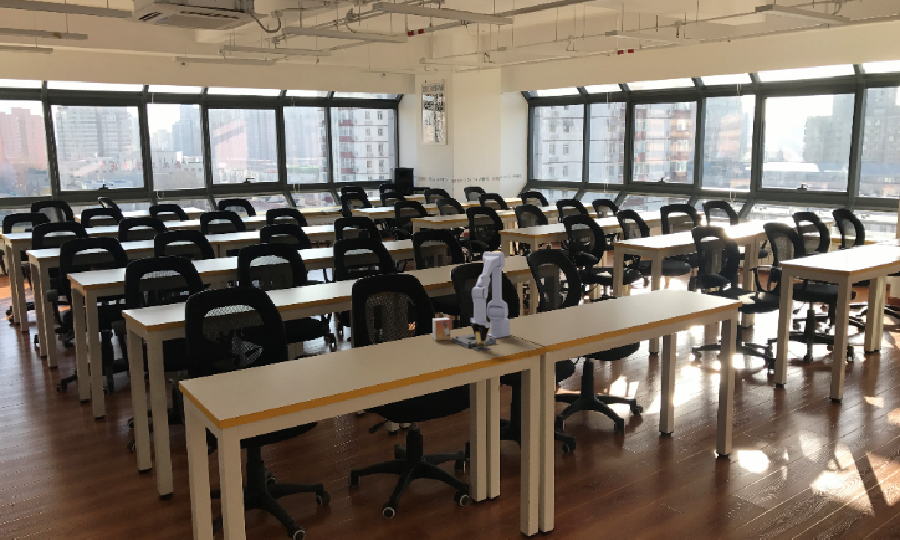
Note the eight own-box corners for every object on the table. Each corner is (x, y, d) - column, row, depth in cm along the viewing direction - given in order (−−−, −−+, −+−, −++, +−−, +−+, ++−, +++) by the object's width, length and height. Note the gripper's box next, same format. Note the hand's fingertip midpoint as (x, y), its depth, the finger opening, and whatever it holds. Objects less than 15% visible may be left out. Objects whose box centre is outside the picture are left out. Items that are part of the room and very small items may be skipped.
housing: (479, 336, 361) (478, 332, 361) (496, 343, 348) (496, 338, 347) (451, 341, 354) (451, 336, 353) (468, 348, 340) (468, 343, 339)
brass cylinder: (481, 343, 341) (481, 329, 340) (487, 345, 338) (487, 331, 336) (473, 345, 339) (473, 331, 338) (479, 347, 335) (479, 332, 334)
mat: (482, 346, 343) (482, 345, 343) (490, 349, 337) (490, 348, 337) (470, 348, 340) (470, 347, 340) (478, 351, 334) (478, 350, 334)
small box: (435, 341, 355) (434, 320, 353) (432, 338, 360) (432, 318, 358) (450, 339, 357) (450, 319, 355) (447, 337, 362) (447, 317, 360)
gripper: (464, 310, 340) (465, 337, 342) (480, 315, 328) (481, 344, 330) (477, 308, 343) (477, 335, 346) (493, 313, 331) (494, 342, 333)
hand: (480, 339), depth 338 cm, fingers closed on brass cylinder, 4 cm apart
